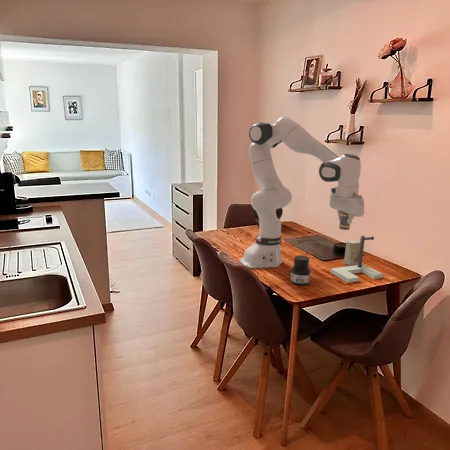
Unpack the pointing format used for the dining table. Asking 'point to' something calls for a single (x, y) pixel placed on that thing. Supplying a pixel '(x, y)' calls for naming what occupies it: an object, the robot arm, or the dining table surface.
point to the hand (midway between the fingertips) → (344, 221)
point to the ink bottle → (300, 270)
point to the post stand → (356, 267)
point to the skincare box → (352, 252)
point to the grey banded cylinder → (344, 221)
